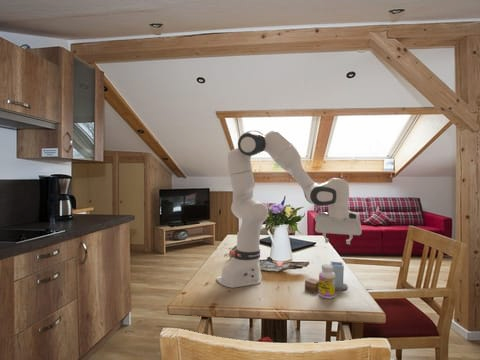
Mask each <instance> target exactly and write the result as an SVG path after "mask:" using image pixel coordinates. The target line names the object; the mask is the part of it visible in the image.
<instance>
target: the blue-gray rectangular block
mask: <svg viewBox="0 0 480 360" xmlns="http://www.w3.org/2000/svg"><path fill="white" fill-rule="evenodd" d="M329 263H330V264H329V265H331V266H333V272H334V273H335V287H338V288H343V283H344V271H345V270H344V268H345V266H344V262H341V261H339V262H338V261H329Z"/></svg>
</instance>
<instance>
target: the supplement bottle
mask: <svg viewBox="0 0 480 360" xmlns="http://www.w3.org/2000/svg"><path fill="white" fill-rule="evenodd" d="M318 280H319V291H318V295H319V297H321V298H323V299H327V300H328V299H333V298H335V294H336V293H335V292H336V290H335V273H334V272H333V266H331V265H330V264H321V270H320V271H319V273H318Z"/></svg>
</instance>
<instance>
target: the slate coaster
mask: <svg viewBox="0 0 480 360" xmlns="http://www.w3.org/2000/svg"><path fill="white" fill-rule="evenodd" d="M348 288H349V287H348V284H346V283H344V282H343V288H338V287H335V292H336V291H340V292H343V291H346V290H348Z"/></svg>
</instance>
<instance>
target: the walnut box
mask: <svg viewBox="0 0 480 360" xmlns="http://www.w3.org/2000/svg"><path fill="white" fill-rule="evenodd" d="M304 290H306V291H308V292H312V293H317V292H319V279H316V278H312V277H310V278H307V279H305V281H304Z"/></svg>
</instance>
